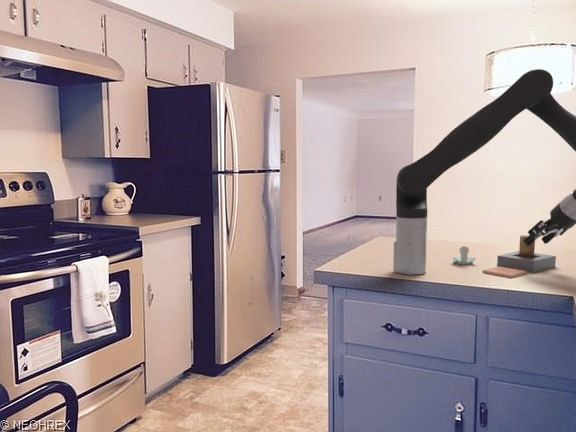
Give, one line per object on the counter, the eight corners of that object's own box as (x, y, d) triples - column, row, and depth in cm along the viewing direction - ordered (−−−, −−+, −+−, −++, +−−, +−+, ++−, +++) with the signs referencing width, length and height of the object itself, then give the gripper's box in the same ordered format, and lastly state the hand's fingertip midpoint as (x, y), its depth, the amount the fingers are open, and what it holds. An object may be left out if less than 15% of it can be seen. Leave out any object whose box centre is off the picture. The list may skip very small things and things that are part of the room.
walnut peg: (529, 268, 157) (530, 237, 156) (516, 266, 160) (517, 236, 159) (536, 266, 159) (537, 236, 158) (522, 264, 163) (524, 234, 162)
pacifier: (451, 262, 169) (453, 265, 163) (451, 244, 168) (453, 246, 163) (473, 262, 167) (476, 265, 161) (474, 244, 167) (476, 247, 161)
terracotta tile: (511, 278, 144) (511, 275, 144) (482, 272, 151) (482, 270, 151) (526, 273, 149) (526, 271, 149) (498, 268, 156) (498, 266, 156)
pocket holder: (533, 272, 151) (534, 261, 150) (497, 266, 160) (497, 255, 160) (555, 266, 159) (555, 256, 159) (519, 260, 169) (519, 250, 168)
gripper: (578, 199, 150) (542, 231, 162) (548, 201, 144) (512, 234, 155) (594, 218, 146) (556, 250, 157) (564, 220, 140) (526, 254, 151)
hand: (534, 242), depth 156 cm, fingers open, 8 cm apart
